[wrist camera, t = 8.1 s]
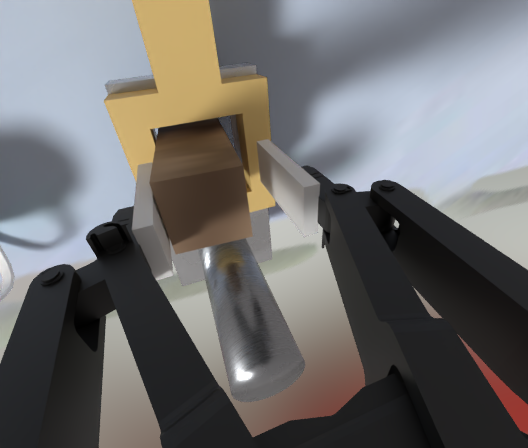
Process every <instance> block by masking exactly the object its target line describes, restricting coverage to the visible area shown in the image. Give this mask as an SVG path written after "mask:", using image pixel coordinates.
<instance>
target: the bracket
mask: <svg viewBox="0 0 528 448" xmlns="http://www.w3.org/2000/svg"><path fill="white" fill-rule="evenodd" d="M132 2H133V6H134V9H135V13H136V16H137V20H138V23H139V27H140V30H141V34H142V37H143V41H144V44H145V48H146V51H147V55H148V58H149V62H150V65H151V69H152V72H153V76H154V79H155V83H156V86H157V88H153V89H145V90H138V91H131V92H124V93H117V94H110V95H108V96H107V97H106V99H105V100H104V103H105V105H106V108H107V110H108V113H109V115H110V118H111V120H112V123H113V125H114V128H115V130H116V133H117V135H118V138H119V140H120V143H121V145H122V148H123V150H124V153H125V155H126V158H127V160H128V163H129V165H130V168H131V170H132V173H133V175H134V178H135V180H137V170H138V165H140V164H145V163H150V162H152V164H153V158H154V152H155V146H156V138H155V135H154V132H153V129H154V128H160V127H166V126H171V125H177V124H183V123H189V122H195V121H201V120H206V119H212V118H218V117H224V116H230V115H235V114H236V122H237V129H238V136H239V144H240V151H241V158H242V164H243V168H244V175H245V182H246V190H247V197H248V205H249V212H254V211H258V210H261V209H265V208H269V207H273V206H275V199H274V198H273V197H272V195H271V194H270V193H269V192H268V190H267V189H266V188H265V186H264V185H263V184H262V182H261V181H260V171H259V161H258V150H257V141H261V140H266V139H269V140H270V141H271V131H270V115H269V100H268V84H267V77H264V76H261V75H258V74H253V75H246V76H238V77H231V78H224V79H221V76H220V70H219V64H218V57H217V51H216V44H215V38H214V31H213V25H212V18H211V12H210V6H209V0H132Z"/></svg>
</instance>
